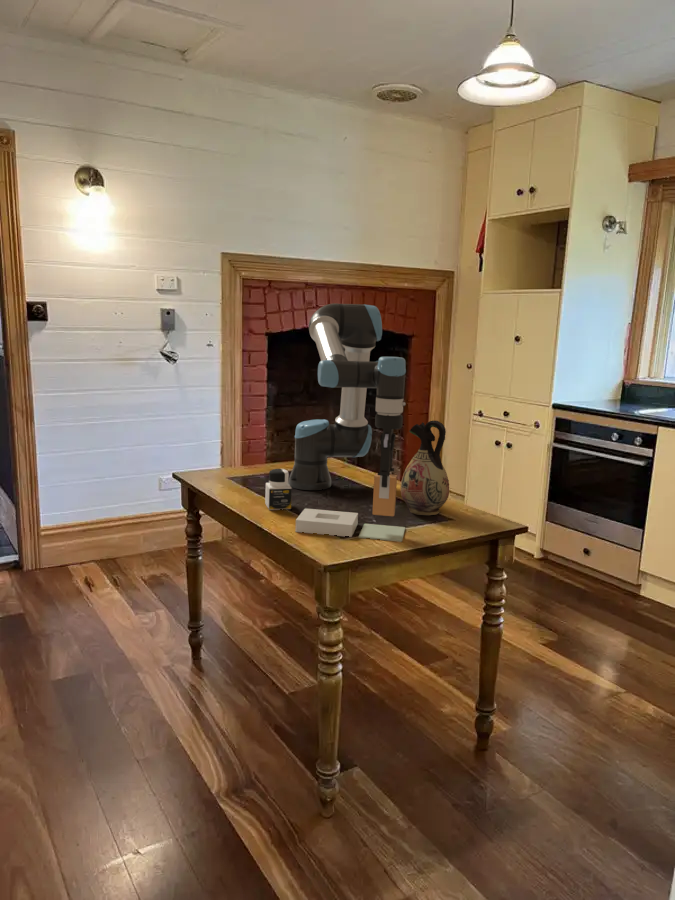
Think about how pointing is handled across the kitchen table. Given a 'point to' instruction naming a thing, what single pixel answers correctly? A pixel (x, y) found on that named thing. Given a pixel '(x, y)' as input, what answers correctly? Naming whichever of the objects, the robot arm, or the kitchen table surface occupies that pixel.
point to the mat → (382, 532)
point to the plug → (382, 504)
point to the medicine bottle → (278, 490)
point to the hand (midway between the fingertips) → (384, 495)
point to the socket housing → (327, 522)
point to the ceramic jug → (426, 473)
